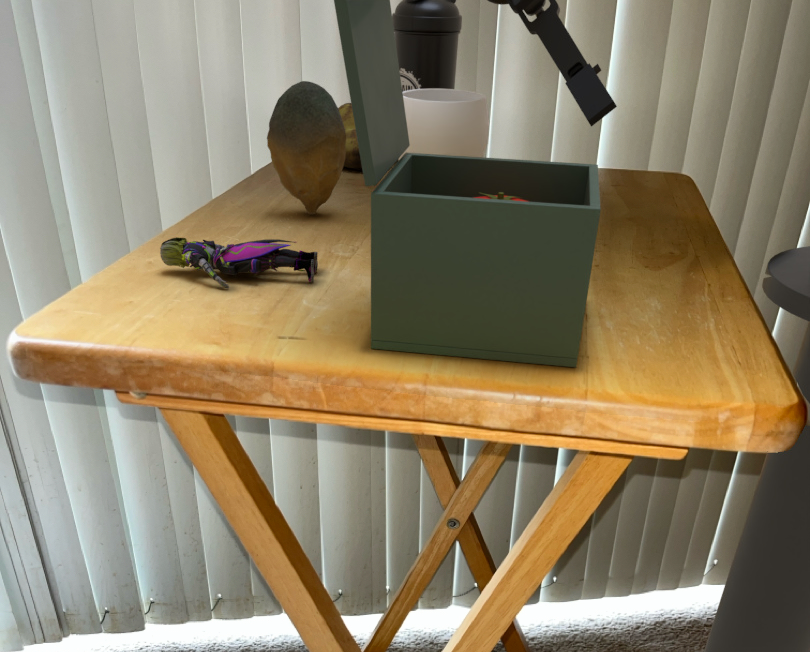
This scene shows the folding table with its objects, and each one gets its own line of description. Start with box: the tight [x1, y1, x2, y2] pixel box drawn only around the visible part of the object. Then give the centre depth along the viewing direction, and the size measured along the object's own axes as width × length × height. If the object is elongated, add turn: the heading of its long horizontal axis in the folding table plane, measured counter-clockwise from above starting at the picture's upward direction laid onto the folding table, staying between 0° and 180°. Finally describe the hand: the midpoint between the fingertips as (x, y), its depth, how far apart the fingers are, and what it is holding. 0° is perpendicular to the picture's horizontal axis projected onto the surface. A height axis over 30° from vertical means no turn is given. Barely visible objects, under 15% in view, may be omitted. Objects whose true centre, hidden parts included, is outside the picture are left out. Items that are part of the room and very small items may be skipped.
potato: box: [338, 102, 362, 171], centre depth 128 cm, size 8×13×8 cm, turn 173°
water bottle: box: [392, 0, 463, 163], centre depth 127 cm, size 10×10×23 cm
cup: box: [398, 88, 490, 160], centre depth 96 cm, size 11×11×15 cm
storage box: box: [370, 153, 602, 368], centre depth 74 cm, size 18×16×13 cm
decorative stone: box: [266, 80, 346, 215], centre depth 102 cm, size 10×6×15 cm, turn 84°
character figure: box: [159, 236, 319, 289], centre depth 86 cm, size 9×4×16 cm
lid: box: [333, 0, 410, 187], centre depth 66 cm, size 18×16×1 cm
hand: (569, 59), depth 72 cm, fingers open, 13 cm apart
